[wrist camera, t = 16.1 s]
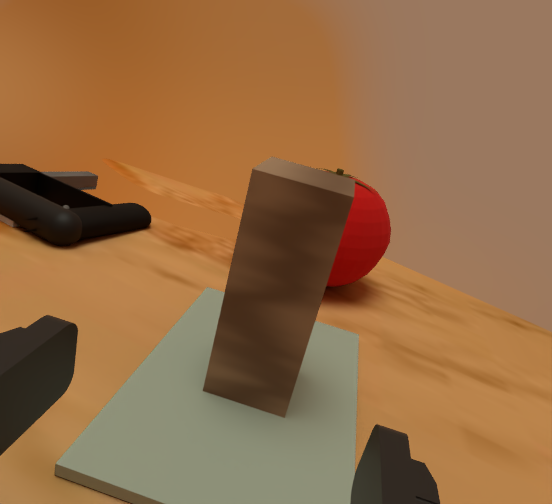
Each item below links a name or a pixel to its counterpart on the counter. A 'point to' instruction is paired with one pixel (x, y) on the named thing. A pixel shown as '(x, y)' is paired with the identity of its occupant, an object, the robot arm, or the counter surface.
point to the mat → (222, 427)
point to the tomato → (361, 235)
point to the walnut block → (276, 282)
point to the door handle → (62, 205)
